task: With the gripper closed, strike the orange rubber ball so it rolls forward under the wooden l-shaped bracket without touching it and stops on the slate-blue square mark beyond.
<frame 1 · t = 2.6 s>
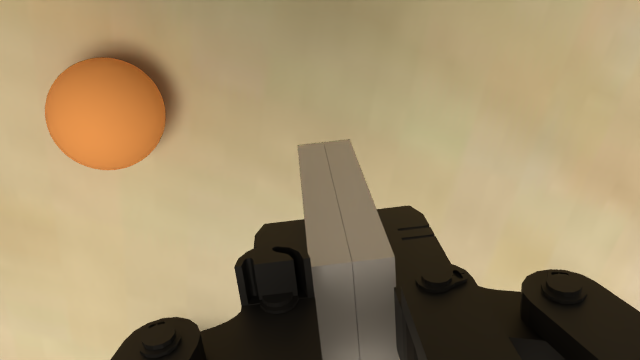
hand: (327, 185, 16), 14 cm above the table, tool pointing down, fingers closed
ball: (107, 114, 26), on the table
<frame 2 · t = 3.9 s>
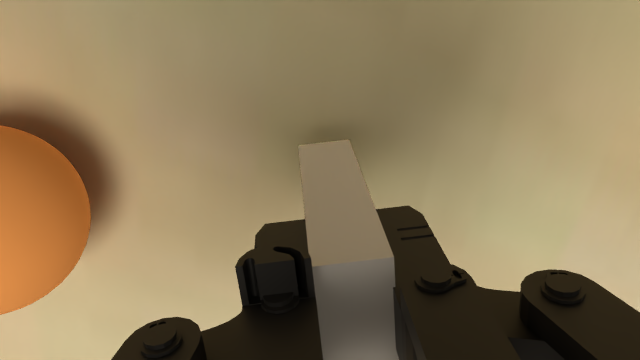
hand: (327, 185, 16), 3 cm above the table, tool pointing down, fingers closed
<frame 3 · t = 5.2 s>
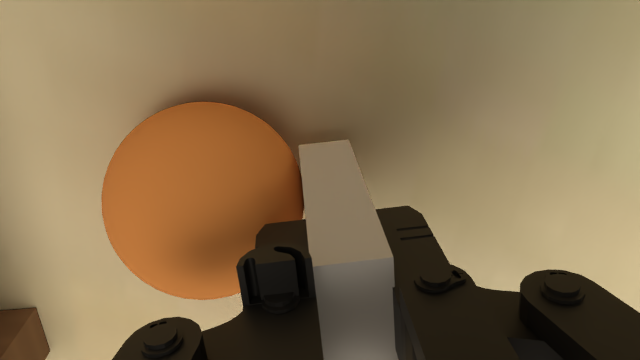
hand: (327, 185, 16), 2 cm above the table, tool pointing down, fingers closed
ball: (206, 200, 15), on the table
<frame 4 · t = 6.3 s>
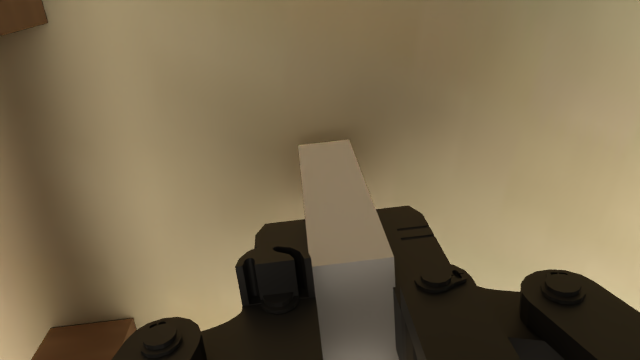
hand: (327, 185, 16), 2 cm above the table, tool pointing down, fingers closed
wooden l-shaped bracket: (49, 193, 17), on the table
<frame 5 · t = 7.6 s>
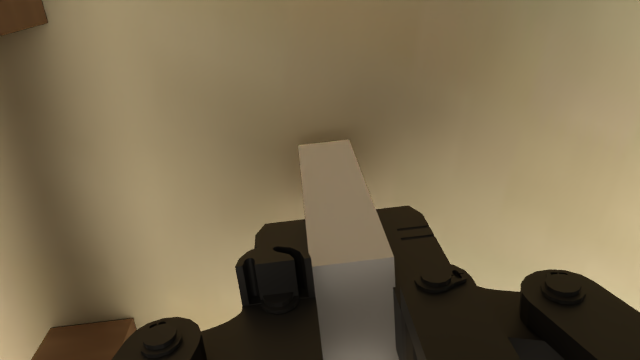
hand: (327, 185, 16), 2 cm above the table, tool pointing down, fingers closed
wooden l-shaped bracket: (49, 193, 17), on the table
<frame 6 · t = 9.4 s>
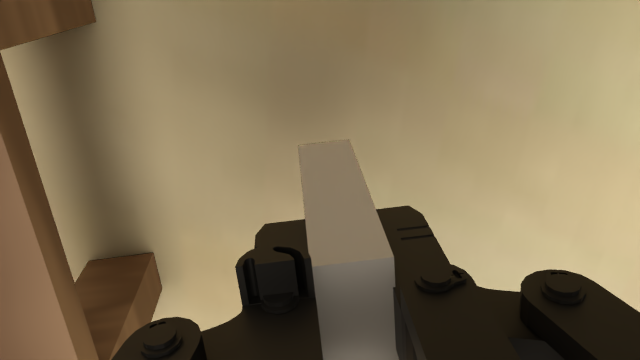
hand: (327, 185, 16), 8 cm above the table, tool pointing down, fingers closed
wooden l-shaped bracket: (92, 151, 23), on the table
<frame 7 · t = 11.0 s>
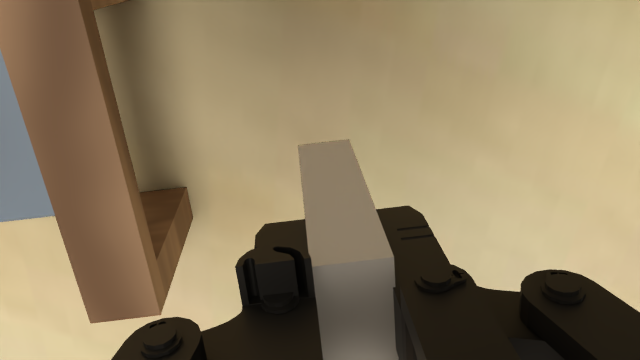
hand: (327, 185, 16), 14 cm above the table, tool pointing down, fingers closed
wooden l-shaped bracket: (139, 101, 28), on the table
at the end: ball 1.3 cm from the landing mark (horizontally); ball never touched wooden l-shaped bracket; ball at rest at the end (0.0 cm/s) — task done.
